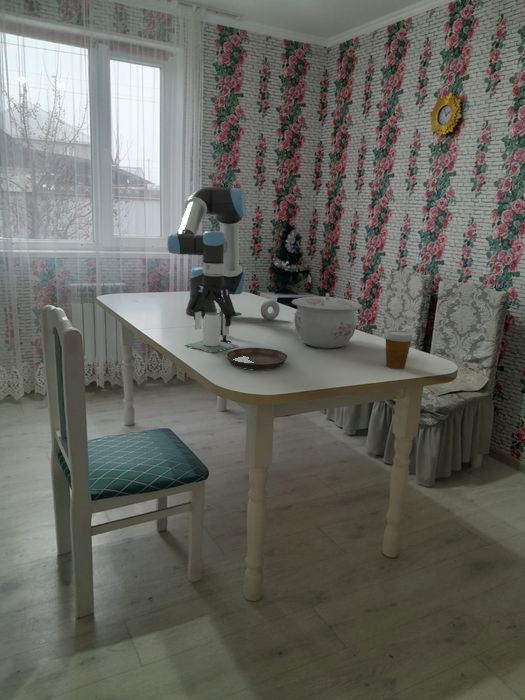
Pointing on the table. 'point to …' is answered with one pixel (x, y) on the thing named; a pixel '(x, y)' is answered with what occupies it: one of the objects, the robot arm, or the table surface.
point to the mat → (213, 349)
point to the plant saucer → (258, 358)
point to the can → (211, 329)
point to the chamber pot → (325, 321)
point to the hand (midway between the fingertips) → (211, 331)
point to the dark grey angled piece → (222, 326)
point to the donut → (265, 309)
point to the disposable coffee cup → (397, 348)
